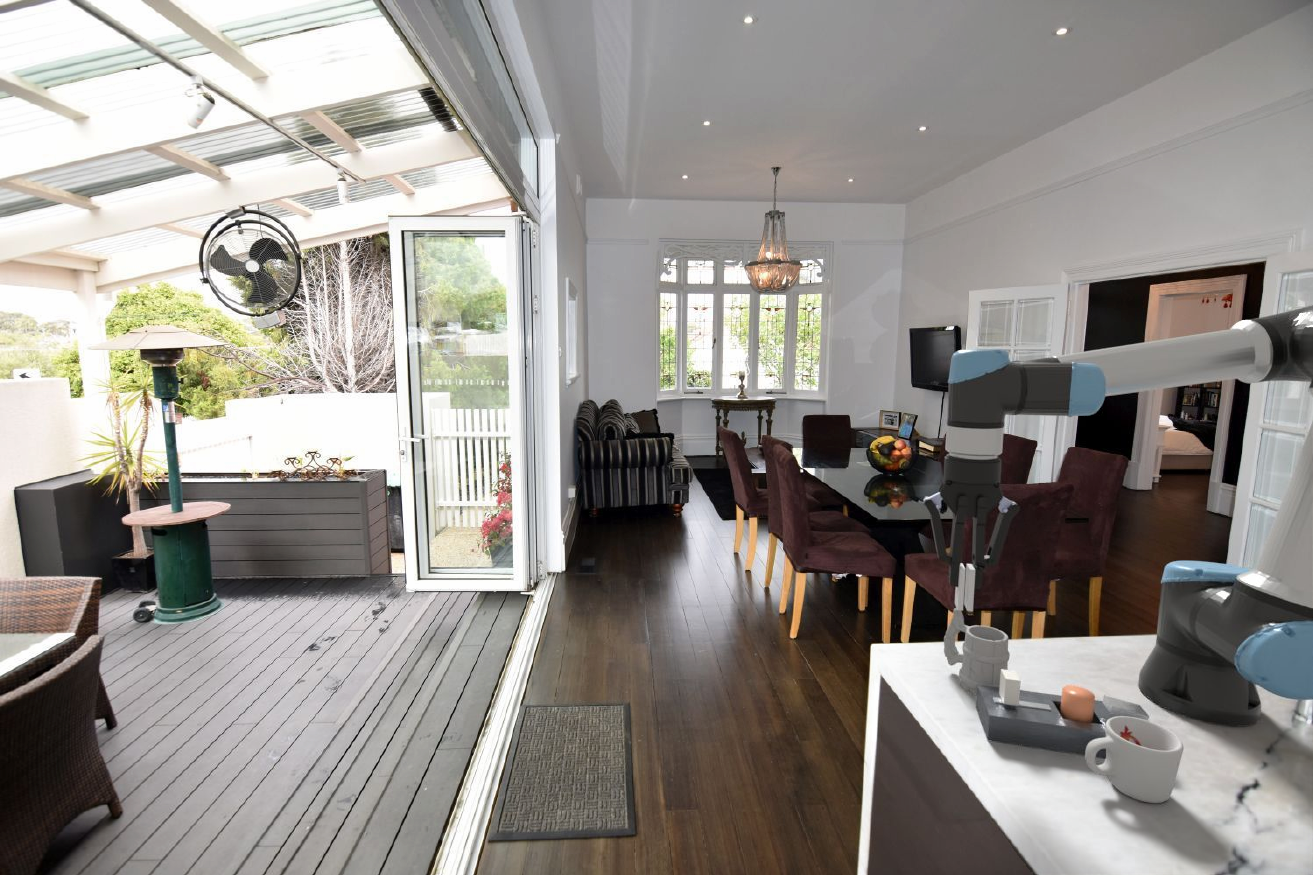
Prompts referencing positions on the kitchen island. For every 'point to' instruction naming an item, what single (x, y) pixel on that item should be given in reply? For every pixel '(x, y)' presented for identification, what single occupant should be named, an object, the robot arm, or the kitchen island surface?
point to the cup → (1138, 758)
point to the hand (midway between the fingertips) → (963, 607)
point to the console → (1038, 722)
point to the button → (1077, 704)
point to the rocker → (1124, 708)
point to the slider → (1009, 687)
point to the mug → (977, 653)
